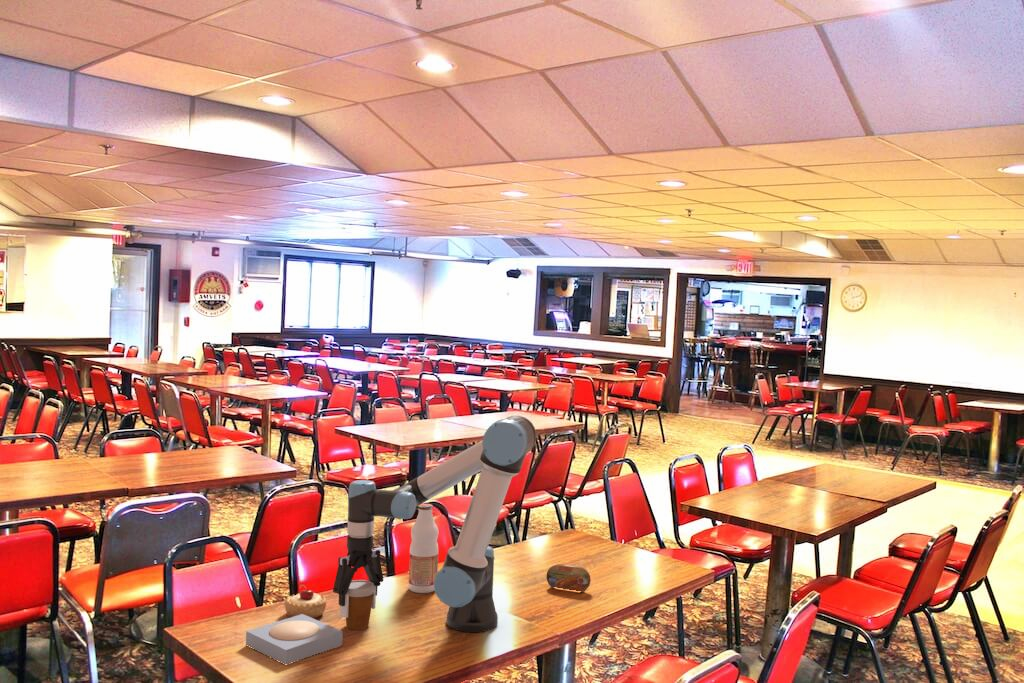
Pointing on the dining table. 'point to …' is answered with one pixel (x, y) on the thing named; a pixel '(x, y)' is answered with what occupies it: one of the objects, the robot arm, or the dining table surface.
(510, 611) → the dining table surface
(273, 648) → the serving stand
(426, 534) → the fruit juice
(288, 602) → the pastry
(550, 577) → the tin
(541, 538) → the dining table surface
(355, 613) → the disposable coffee cup
